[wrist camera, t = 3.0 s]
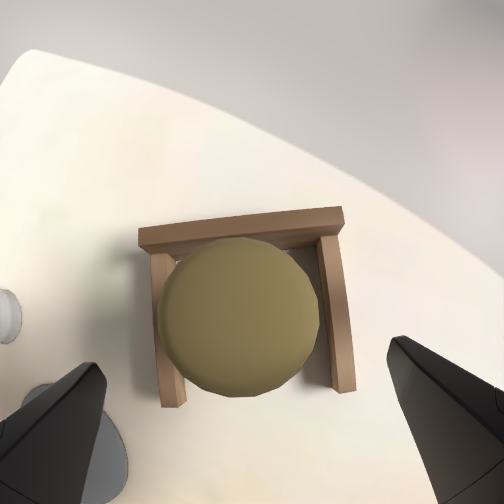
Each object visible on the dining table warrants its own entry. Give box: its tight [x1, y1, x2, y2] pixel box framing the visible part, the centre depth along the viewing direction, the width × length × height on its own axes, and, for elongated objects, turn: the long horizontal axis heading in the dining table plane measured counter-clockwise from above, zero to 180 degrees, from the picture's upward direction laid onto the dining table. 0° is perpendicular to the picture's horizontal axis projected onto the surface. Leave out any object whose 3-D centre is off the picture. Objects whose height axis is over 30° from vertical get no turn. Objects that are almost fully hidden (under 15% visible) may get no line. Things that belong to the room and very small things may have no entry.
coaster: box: [21, 384, 128, 504], centre depth 17 cm, size 10×10×1 cm
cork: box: [157, 237, 320, 397], centre depth 14 cm, size 6×6×11 cm
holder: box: [138, 206, 356, 408], centre depth 17 cm, size 10×11×4 cm
